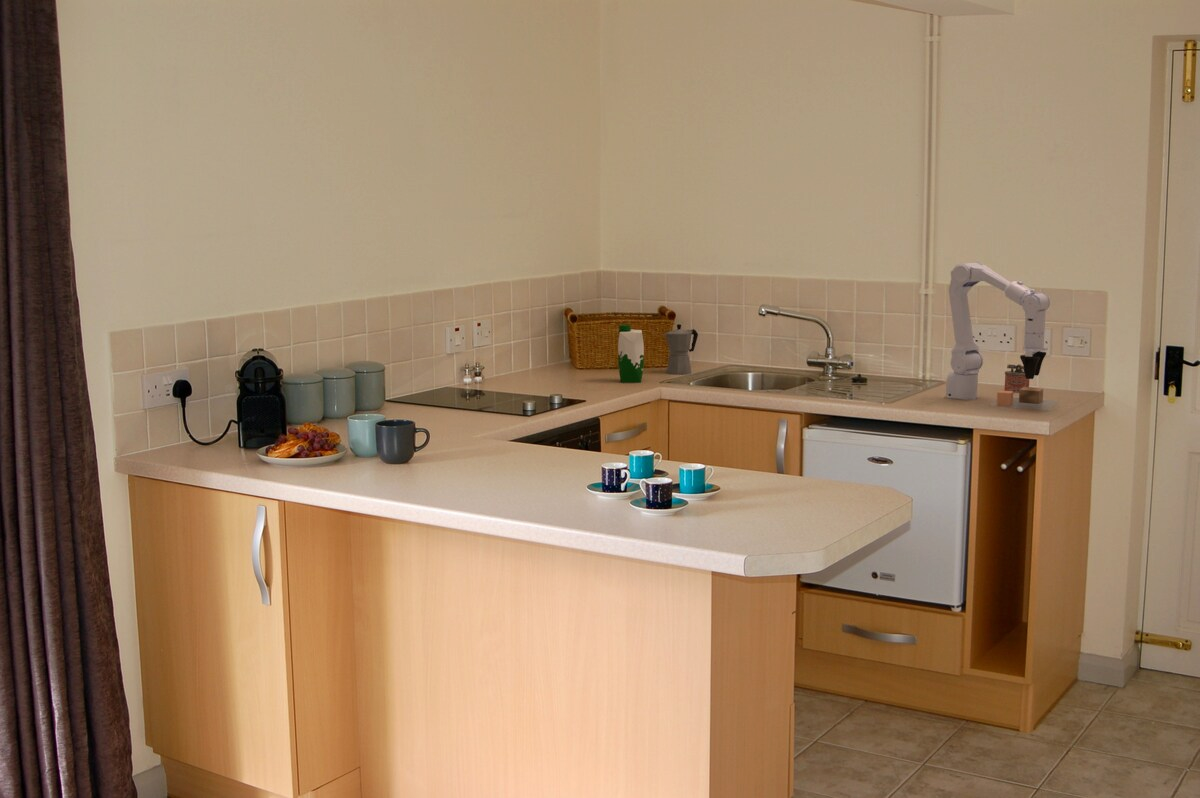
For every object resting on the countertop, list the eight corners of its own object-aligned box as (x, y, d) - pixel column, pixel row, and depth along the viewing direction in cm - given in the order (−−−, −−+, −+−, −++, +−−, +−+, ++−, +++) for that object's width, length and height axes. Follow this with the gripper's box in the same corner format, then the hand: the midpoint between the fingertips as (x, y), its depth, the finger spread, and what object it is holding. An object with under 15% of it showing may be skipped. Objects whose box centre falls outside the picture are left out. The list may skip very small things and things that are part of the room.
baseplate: (988, 408, 398) (988, 405, 398) (1001, 399, 413) (1002, 396, 413) (1048, 413, 389) (1049, 410, 389) (1060, 404, 404) (1060, 401, 404)
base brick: (1018, 402, 403) (1019, 389, 402) (1023, 399, 408) (1023, 386, 407) (1038, 403, 400) (1039, 391, 399) (1042, 400, 405) (1043, 388, 404)
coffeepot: (672, 376, 466) (673, 326, 463) (656, 373, 473) (656, 324, 470) (705, 372, 475) (705, 323, 471) (689, 369, 482) (689, 321, 479)
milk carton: (618, 379, 460) (618, 323, 456) (643, 379, 459) (643, 323, 456) (618, 383, 451) (618, 326, 447) (644, 383, 451) (644, 326, 447)
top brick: (996, 405, 398) (997, 392, 398) (999, 402, 402) (1000, 390, 401) (1009, 406, 396) (1010, 393, 396) (1012, 404, 400) (1013, 391, 399)
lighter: (1029, 394, 422) (1031, 364, 420) (1028, 396, 419) (1030, 365, 417) (1004, 392, 426) (1005, 363, 424) (1003, 394, 423) (1004, 364, 421)
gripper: (1043, 336, 382) (1040, 381, 384) (1052, 331, 394) (1050, 374, 397) (1019, 335, 386) (1016, 379, 388) (1029, 329, 398) (1027, 373, 400)
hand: (1032, 377), depth 393 cm, fingers open, 7 cm apart
